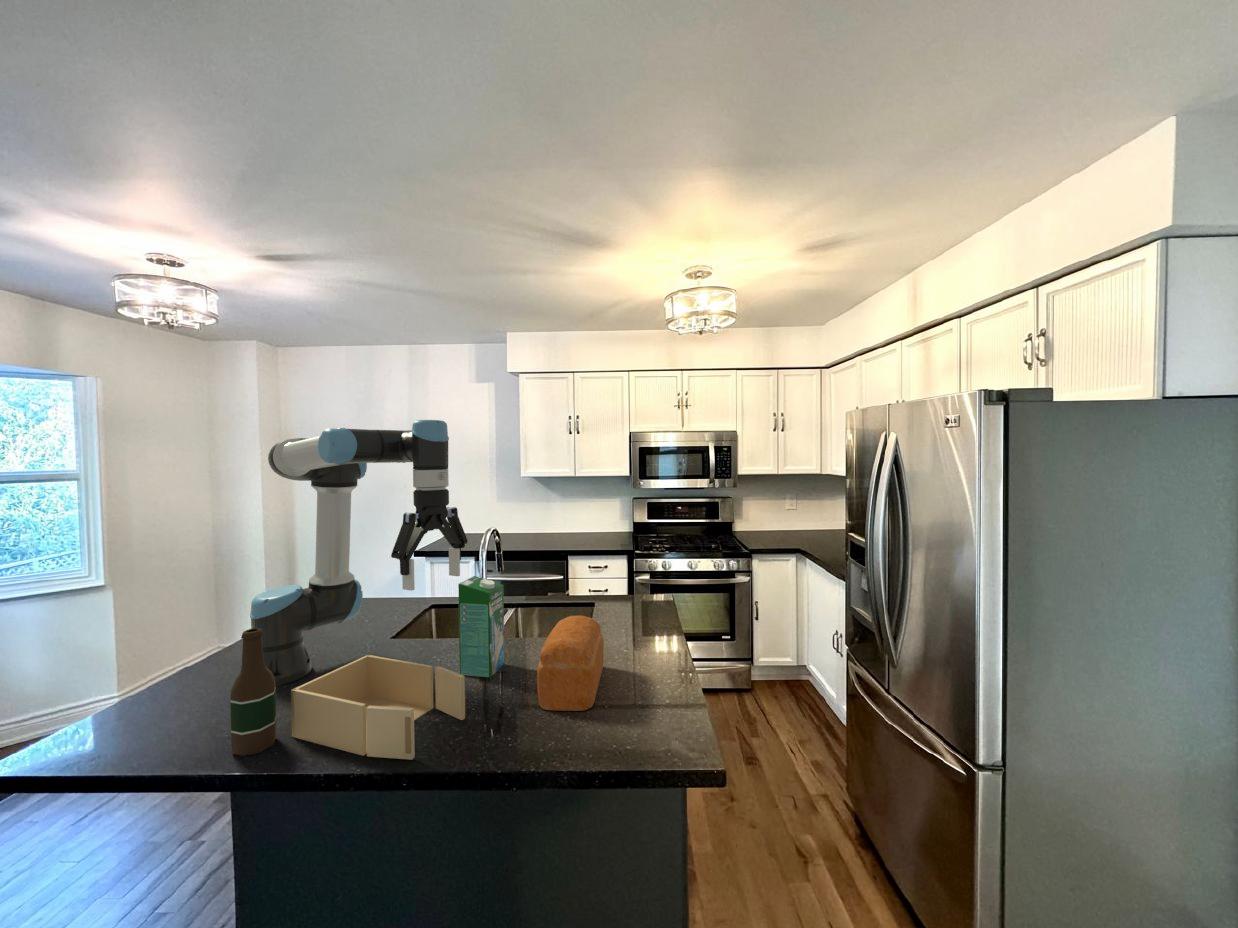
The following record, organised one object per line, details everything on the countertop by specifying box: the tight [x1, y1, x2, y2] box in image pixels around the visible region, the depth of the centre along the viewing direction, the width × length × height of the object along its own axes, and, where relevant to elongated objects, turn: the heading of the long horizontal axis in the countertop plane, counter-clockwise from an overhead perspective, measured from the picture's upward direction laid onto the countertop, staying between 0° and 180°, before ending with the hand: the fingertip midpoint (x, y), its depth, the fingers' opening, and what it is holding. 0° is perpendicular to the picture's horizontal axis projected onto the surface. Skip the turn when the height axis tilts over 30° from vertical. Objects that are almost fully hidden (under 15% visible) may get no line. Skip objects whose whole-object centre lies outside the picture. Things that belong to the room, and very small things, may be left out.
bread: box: [536, 614, 605, 712], centre depth 130 cm, size 14×26×16 cm, turn 176°
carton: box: [290, 654, 434, 756], centre depth 113 cm, size 20×20×10 cm
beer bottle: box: [229, 628, 278, 757], centre depth 104 cm, size 8×8×24 cm
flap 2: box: [434, 665, 466, 721], centre depth 116 cm, size 1×9×10 cm, turn 55°
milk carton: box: [457, 575, 505, 678], centre depth 140 cm, size 9×9×25 cm
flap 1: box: [366, 706, 416, 761], centre depth 99 cm, size 1×9×10 cm, turn 83°
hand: (432, 582), depth 114 cm, fingers open, 13 cm apart
